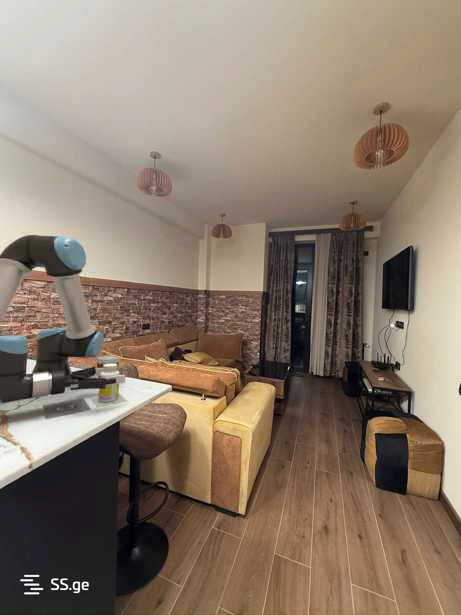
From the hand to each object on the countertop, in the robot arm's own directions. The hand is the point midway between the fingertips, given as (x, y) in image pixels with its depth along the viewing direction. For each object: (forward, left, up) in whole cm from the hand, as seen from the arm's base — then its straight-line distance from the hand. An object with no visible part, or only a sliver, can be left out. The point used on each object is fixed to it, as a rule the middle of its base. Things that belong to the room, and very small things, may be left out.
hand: (119, 374), depth 91 cm
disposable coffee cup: (-18, +1, -9) cm, 20 cm away
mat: (0, -3, -9) cm, 10 cm away
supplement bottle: (0, -3, -9) cm, 10 cm away
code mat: (0, -16, -9) cm, 19 cm away
